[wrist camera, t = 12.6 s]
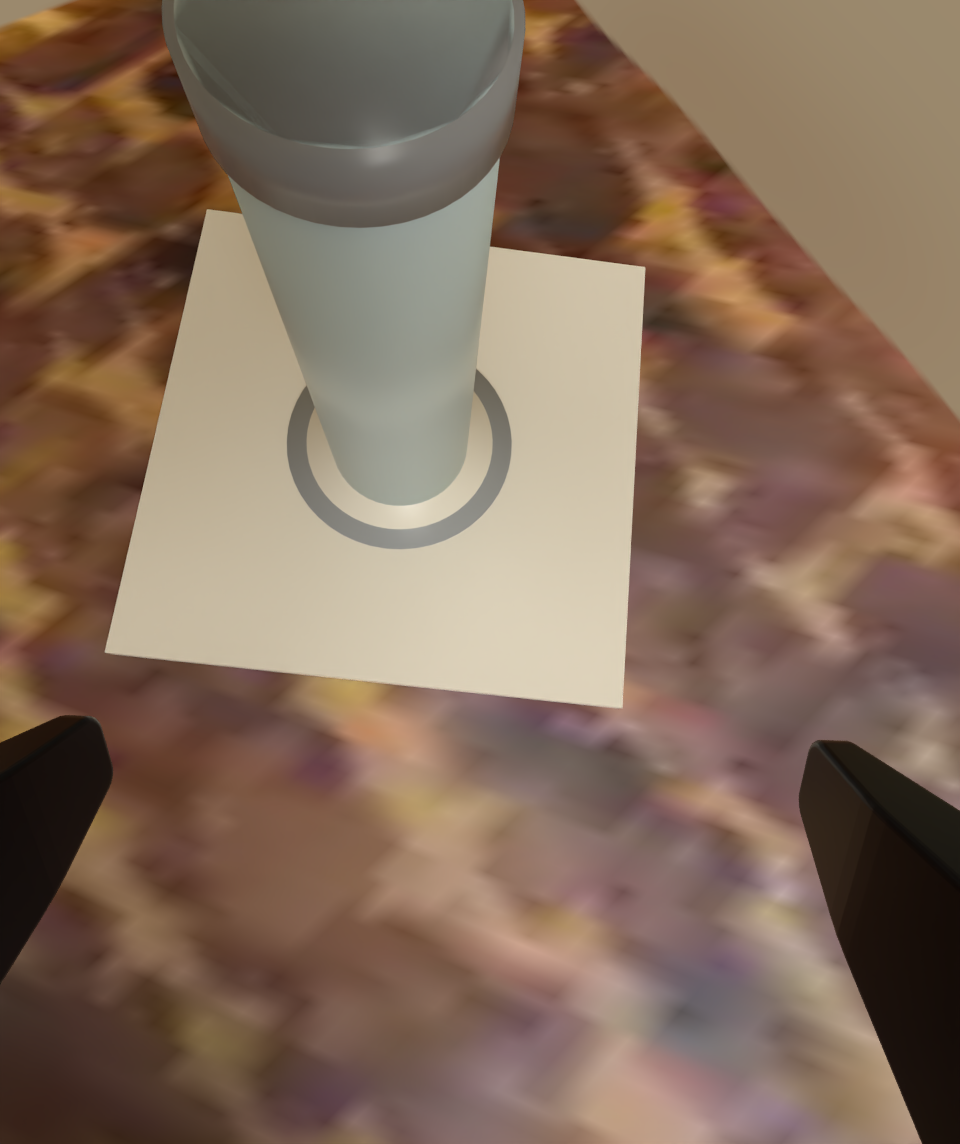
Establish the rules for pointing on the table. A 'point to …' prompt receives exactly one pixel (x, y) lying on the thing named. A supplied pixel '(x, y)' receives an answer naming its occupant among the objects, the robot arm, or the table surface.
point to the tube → (365, 202)
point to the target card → (385, 532)
